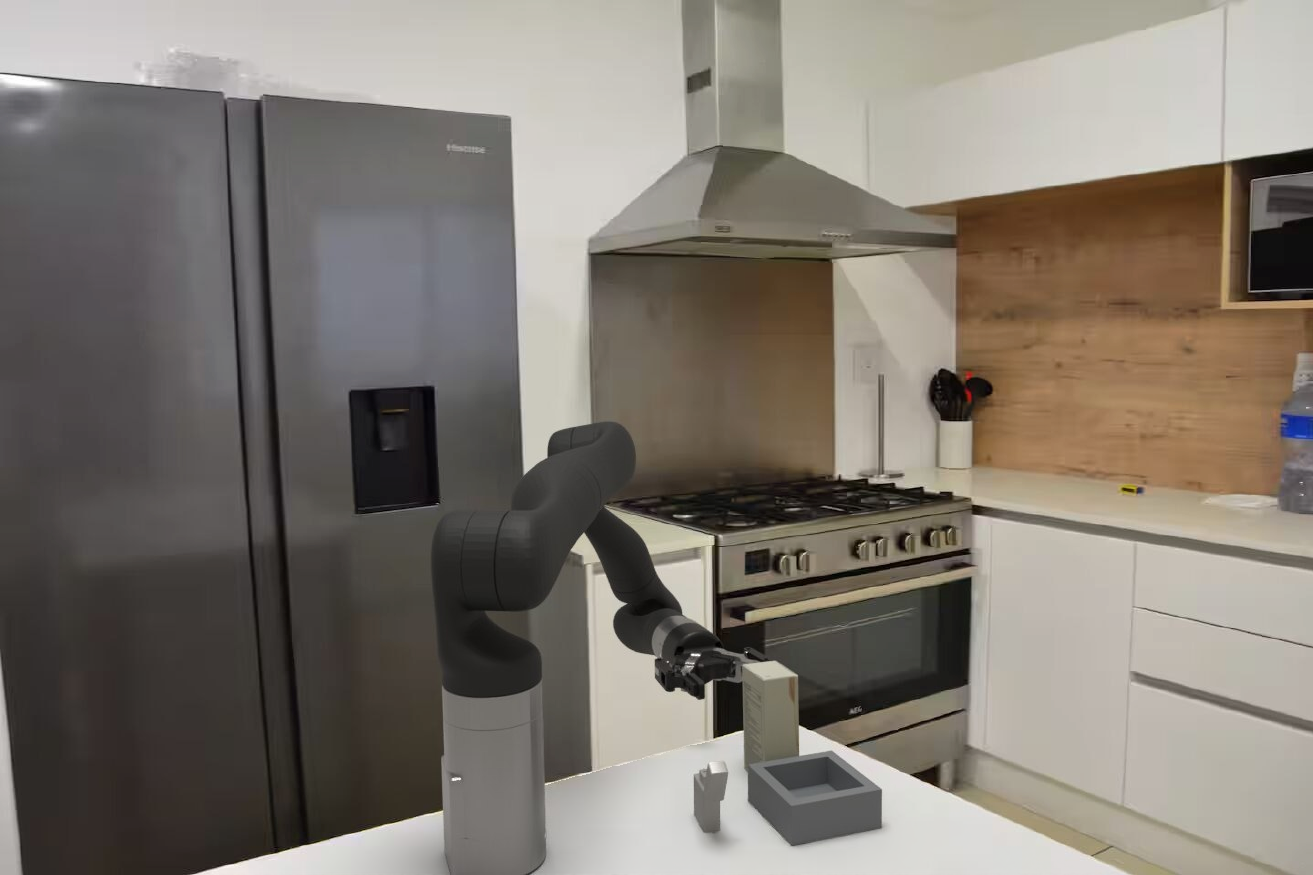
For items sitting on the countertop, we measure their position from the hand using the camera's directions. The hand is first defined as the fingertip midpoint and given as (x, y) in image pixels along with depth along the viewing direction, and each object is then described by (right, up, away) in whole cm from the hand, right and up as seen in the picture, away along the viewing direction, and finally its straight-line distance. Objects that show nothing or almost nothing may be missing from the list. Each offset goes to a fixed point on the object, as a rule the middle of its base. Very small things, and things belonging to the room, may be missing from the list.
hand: (735, 687), depth 119 cm
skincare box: (+3, -8, -8) cm, 12 cm away
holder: (+7, -9, -18) cm, 21 cm away
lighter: (-4, -9, -20) cm, 23 cm away
